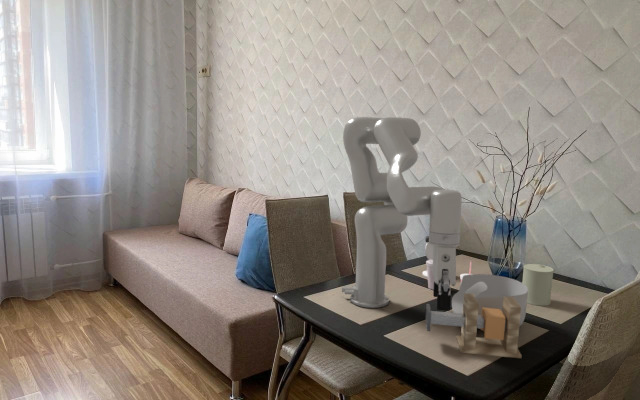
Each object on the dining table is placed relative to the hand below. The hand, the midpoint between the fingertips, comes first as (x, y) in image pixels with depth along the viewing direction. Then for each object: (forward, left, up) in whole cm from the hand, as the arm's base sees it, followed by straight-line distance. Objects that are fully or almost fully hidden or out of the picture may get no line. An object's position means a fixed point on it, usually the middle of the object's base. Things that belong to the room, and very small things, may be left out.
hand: (441, 303), depth 115 cm
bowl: (+16, +18, -12) cm, 27 cm away
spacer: (+13, +1, -8) cm, 15 cm away
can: (+35, +40, -12) cm, 54 cm away
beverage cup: (+12, +33, -12) cm, 37 cm away
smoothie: (+2, +45, -12) cm, 46 cm away
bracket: (+12, +1, -11) cm, 17 cm away
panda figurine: (+5, +61, -12) cm, 62 cm away
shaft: (+8, +1, -7) cm, 10 cm away
